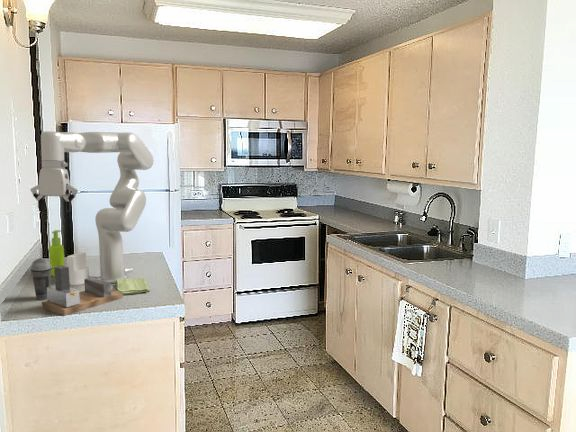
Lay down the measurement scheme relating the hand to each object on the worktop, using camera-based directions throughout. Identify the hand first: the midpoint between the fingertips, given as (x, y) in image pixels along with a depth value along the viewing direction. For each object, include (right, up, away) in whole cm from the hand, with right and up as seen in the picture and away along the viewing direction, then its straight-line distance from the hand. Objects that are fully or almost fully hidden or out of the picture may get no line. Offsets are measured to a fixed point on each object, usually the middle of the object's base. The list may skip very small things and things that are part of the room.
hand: (54, 211), depth 178 cm
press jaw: (+7, -33, -7) cm, 34 cm away
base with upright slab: (-4, -30, +28) cm, 41 cm away
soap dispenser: (-18, -28, +39) cm, 52 cm away
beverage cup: (-7, -33, +5) cm, 35 cm away
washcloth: (+23, -32, +19) cm, 44 cm away
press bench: (+11, -34, +1) cm, 36 cm away
